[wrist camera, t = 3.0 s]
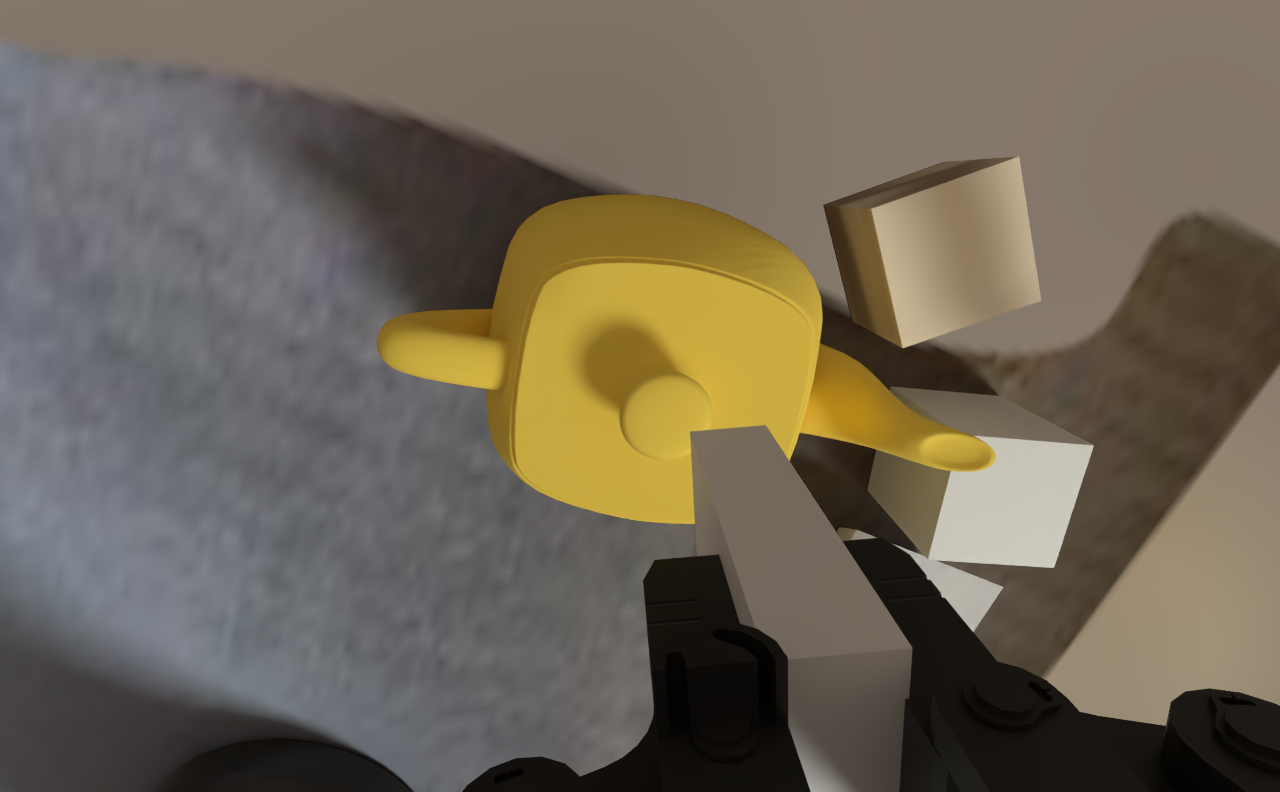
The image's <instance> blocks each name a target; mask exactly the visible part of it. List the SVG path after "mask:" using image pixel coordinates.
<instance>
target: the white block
mask: <svg viewBox="0 0 1280 792" xmlns="http://www.w3.org/2000/svg"><path fill="white" fill-rule="evenodd" d="M889 391H890V392H891V393H892V394H893V395H894V396H895V397H896V398H897V399H898V400H900V401H901V402H902V403H903V404H904V405H906V406H907V407H908V408H910V409H911V410H913V411H914V412H916V413H917V414H919V415H921V416H923V417H925V418H927V419H929V420H931V421H933V422H935V423H938V424H941V425H944V426H947V427H950V428H953V429H956V430H959V431H962V432H965V433H967V434H970V435H972V436H975V437H977V438H979V439H980V440H982V441H984V442H985V443H987V444H988V445H989V446H990V447H991V448H992V449H993V450H994V452H995V454H996V458H995V461H994V463H993V464H992V465H991V466H990V467H988V468H986V469H983V470H980V471H972V472H956V471H948V470H941V469H937V468H933V467H929V466H926V465H923V464H920V463H916V462H913V461H910V460H907V459H904V458H901V457H898V456H895V455H892V454H889V453H886V452H883V451H880V450H876V453H875V458H874V462H873V467H872V471H871V475H870V480H869V484H868V489H867V491H868V492H869V493H870V494H871V495H872V496H873V498H874V499H875V500H876V501H877V502H878V503H879V504H880V506H881V507H882V508H883V509H884V510H885V511H886V512H887V514H888V515H889V516H890V517H891V518H892V519H893V520H894V522H895V523H896V524H897V525H898V526H899V527H900V528H901V530H902V531H903V532H904V533H905V534H906V535H907V536H908V538H909V539H910V540H911V541H912V542H913V543H914V544H915V546H916V547H917V548H918V549H919V550H920V551H921V552H922V554H923V555H924V556H925V557H926V558H927V559H928V560H941V561H957V562H972V563H988V564H1003V565H1019V566H1034V567H1050V568H1054V566H1055V563H1056V560H1057V557H1058V554H1059V551H1060V548H1061V545H1062V542H1063V539H1064V535H1065V532H1066V529H1067V526H1068V523H1069V520H1070V517H1071V514H1072V511H1073V508H1074V505H1075V502H1076V499H1077V496H1078V492H1079V489H1080V486H1081V483H1082V480H1083V477H1084V474H1085V471H1086V468H1087V465H1088V462H1089V459H1090V456H1091V453H1092V449H1093V446H1094V445H1092V444H1090V443H1088V442H1086V441H1084V440H1082V439H1081V438H1079V437H1077V436H1075V435H1073V434H1071V433H1069V432H1067V431H1065V430H1063V429H1061V428H1059V427H1058V426H1056V425H1054V424H1052V423H1050V422H1048V421H1046V420H1044V419H1042V418H1040V417H1038V416H1037V415H1035V414H1033V413H1031V412H1029V411H1027V410H1025V409H1023V408H1021V407H1019V406H1017V405H1015V404H1014V403H1012V402H1010V401H1008V400H1006V399H1004V398H1002V397H1000V396H995V395H984V394H972V393H960V392H949V391H937V390H925V389H914V388H902V387H890V390H889Z"/></svg>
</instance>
